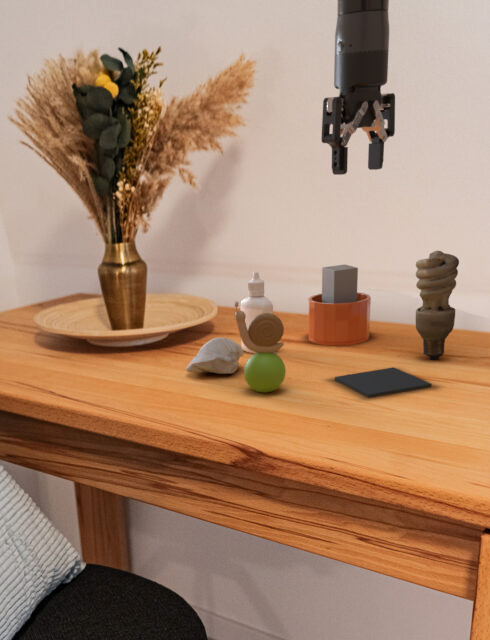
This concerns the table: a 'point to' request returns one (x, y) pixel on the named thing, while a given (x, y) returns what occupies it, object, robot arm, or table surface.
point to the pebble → (217, 357)
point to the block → (339, 284)
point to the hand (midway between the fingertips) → (357, 171)
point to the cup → (339, 321)
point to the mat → (382, 382)
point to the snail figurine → (262, 350)
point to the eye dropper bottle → (255, 303)
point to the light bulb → (436, 301)
